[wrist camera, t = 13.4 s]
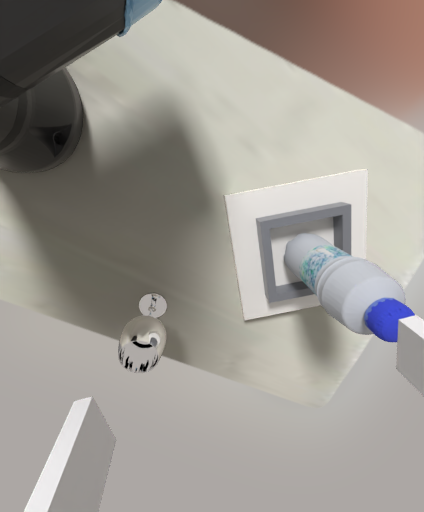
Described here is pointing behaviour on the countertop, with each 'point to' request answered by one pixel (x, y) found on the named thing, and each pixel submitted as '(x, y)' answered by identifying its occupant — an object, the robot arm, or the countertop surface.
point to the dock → (292, 235)
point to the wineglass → (144, 336)
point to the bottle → (348, 286)
